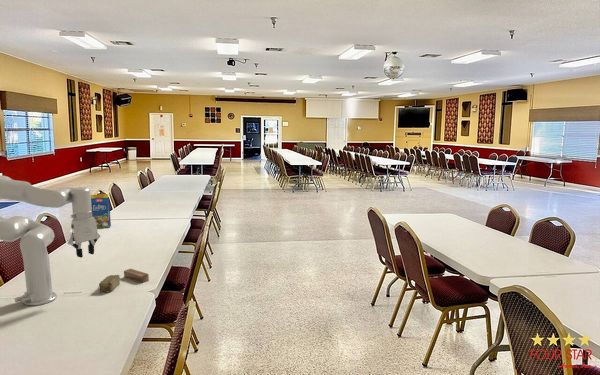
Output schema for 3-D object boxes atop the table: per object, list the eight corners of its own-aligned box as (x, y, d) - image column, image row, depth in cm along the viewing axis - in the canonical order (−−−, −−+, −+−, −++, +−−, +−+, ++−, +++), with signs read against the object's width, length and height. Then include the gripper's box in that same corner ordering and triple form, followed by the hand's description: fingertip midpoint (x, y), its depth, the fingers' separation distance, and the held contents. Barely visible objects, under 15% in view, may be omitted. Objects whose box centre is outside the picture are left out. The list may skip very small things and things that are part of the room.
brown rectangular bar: (141, 283, 206) (141, 276, 205) (124, 277, 213) (123, 270, 213) (148, 280, 209) (148, 273, 208) (131, 275, 216) (130, 268, 216)
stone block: (120, 283, 205) (120, 274, 204) (111, 293, 194) (110, 283, 193) (108, 284, 205) (108, 274, 204) (98, 293, 194) (97, 283, 193)
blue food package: (93, 226, 315) (91, 194, 311) (110, 226, 318) (108, 193, 314) (91, 228, 309) (89, 195, 305) (109, 228, 312) (107, 194, 308)
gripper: (68, 220, 175) (71, 262, 178) (105, 213, 189) (108, 252, 192) (58, 218, 179) (62, 259, 182) (95, 211, 193) (98, 249, 196)
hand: (85, 255), depth 187 cm, fingers open, 4 cm apart
